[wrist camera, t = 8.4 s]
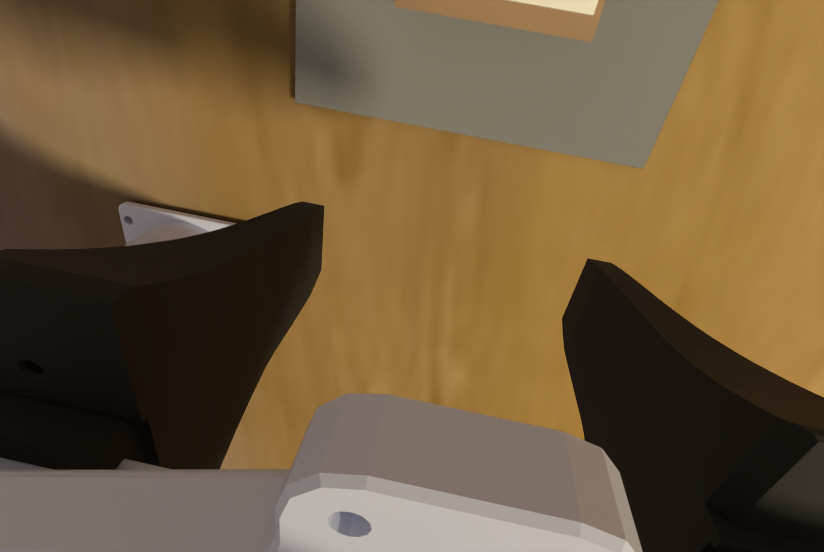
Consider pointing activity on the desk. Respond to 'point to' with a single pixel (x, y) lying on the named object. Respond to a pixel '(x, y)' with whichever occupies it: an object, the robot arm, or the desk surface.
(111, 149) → the desk surface
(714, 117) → the desk surface
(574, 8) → the white slab
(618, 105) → the mat
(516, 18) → the walnut slab
